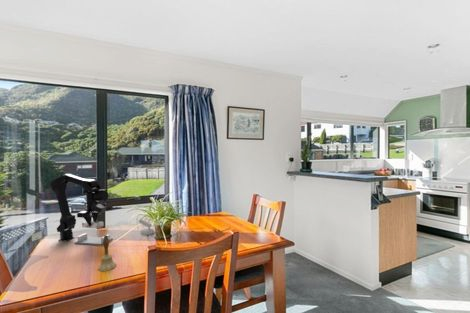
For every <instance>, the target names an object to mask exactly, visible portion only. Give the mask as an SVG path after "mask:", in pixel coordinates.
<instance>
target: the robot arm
mask: <svg viewBox="0 0 470 313" xmlns="http://www.w3.org/2000/svg"><path fill="white" fill-rule="evenodd" d="M69 183H72V184H75V185H78V186H81V188H82V189H84V191H83V192H82V193H83V194H85V198H86V199H85V200H86V201H85V202H84V204H85V205H86V208H85V209H84V210H81V211H79V212H77V213H76V215H75V214H72V213H71V210H70V206H69V202H68V198H67V195H66V190H67V188H68V187H67V186H68V185H67V184H69ZM49 185H50V187H51V188H50V189H51V191H53V193H55V194H56V200H57V203H58V206H59V211H60V215H61V216H60V218H59V225H58V226H57V227H56V231H57V233H59V239H58V241H59V242H68V241H71V240H73V239H75V236H73V235H74V234H73V233H74V232H73V229H75V227H76V223H77V219H76V218H82V219H84V220H85V221H86V222H87V223H88V225H89V226H91V221H98V219H99V215H100V214H102V213H104V212H105V211H107V209H108V204H107V202H106V201H107V200H108V199H109V193H108V192H107V190H106V189H102V187H101V186H100V184H99V182H98V180H96V179H91V178H83V177H80V176H77V175H74V174H72V173H65V174H63V175H61V176H60V177H58V178H55V179H53V180H52V181H50V184H49ZM100 202H103V203H100Z"/></svg>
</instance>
